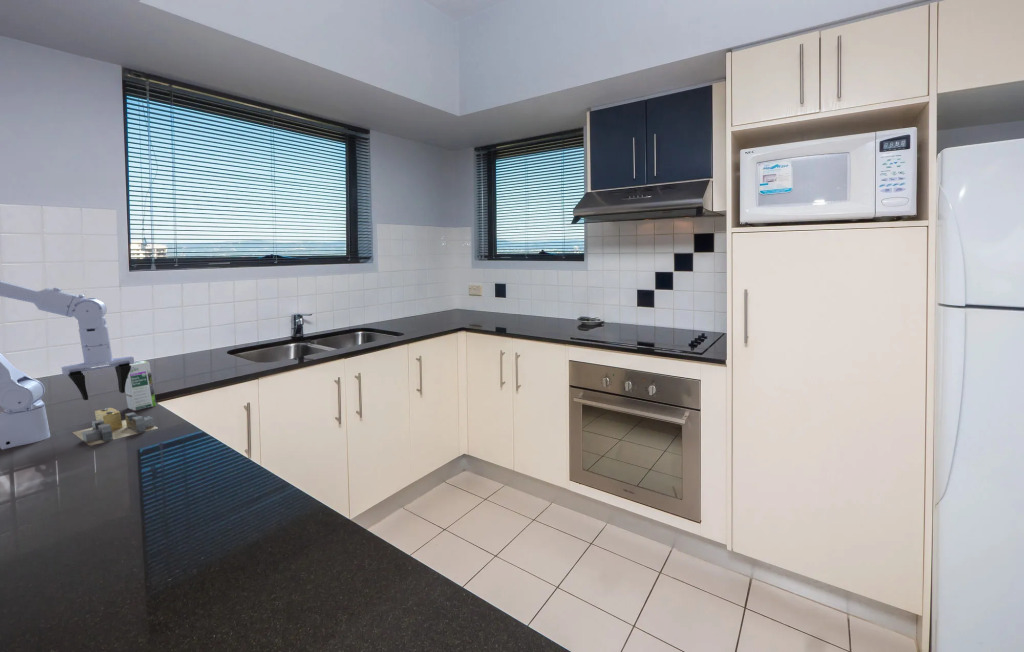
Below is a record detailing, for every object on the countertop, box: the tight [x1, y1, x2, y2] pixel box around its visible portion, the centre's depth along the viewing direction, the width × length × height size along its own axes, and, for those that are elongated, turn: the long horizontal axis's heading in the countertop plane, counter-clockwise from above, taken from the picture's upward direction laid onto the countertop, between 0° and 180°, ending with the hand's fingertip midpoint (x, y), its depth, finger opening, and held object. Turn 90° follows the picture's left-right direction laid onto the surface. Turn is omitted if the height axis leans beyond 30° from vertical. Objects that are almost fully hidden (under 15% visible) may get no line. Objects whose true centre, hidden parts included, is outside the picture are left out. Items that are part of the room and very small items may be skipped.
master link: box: [94, 407, 123, 430], centre depth 132 cm, size 4×8×4 cm, turn 51°
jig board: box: [71, 419, 158, 446], centre depth 129 cm, size 14×18×1 cm
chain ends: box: [82, 411, 155, 444], centre depth 126 cm, size 14×9×4 cm, turn 141°
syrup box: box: [125, 360, 157, 411], centre depth 150 cm, size 6×6×14 cm
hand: (104, 395), depth 131 cm, fingers open, 7 cm apart
